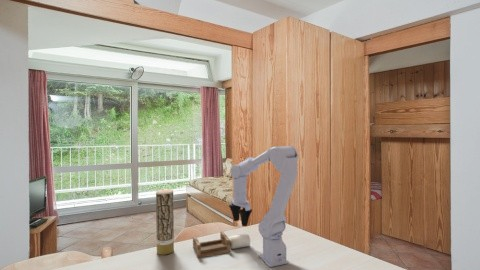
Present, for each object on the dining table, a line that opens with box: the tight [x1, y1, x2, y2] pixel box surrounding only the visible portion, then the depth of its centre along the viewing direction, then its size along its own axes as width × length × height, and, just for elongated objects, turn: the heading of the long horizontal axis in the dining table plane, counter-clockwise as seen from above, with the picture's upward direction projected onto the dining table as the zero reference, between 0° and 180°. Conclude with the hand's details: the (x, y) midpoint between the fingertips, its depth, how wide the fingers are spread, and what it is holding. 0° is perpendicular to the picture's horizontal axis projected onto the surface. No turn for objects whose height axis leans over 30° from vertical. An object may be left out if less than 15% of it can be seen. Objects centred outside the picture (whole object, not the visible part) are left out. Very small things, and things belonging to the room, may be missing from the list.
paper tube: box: [155, 188, 175, 256], centre depth 107 cm, size 7×7×25 cm
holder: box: [192, 231, 231, 259], centre depth 108 cm, size 10×13×5 cm
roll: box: [228, 233, 251, 250], centre depth 111 cm, size 5×8×5 cm, turn 111°
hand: (240, 223), depth 113 cm, fingers open, 7 cm apart
